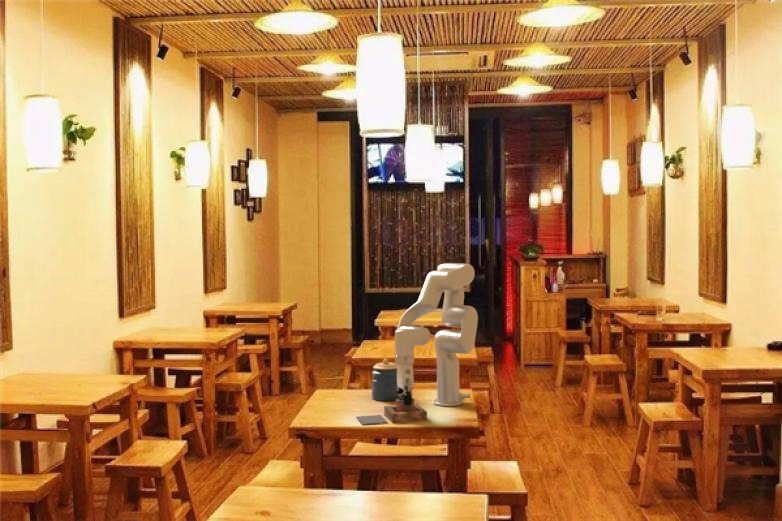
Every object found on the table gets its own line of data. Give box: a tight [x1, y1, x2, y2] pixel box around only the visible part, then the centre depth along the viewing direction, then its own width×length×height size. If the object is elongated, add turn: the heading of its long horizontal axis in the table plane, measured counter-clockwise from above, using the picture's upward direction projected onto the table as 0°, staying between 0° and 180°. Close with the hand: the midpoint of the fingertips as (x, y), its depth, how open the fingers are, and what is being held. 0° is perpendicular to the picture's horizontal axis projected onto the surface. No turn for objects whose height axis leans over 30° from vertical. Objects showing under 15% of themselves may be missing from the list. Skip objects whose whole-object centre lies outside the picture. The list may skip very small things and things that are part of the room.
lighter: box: [395, 392, 415, 412], centre depth 332 cm, size 8×3×10 cm, turn 117°
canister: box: [371, 358, 398, 402], centre depth 368 cm, size 13×13×18 cm
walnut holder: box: [383, 403, 428, 424], centre depth 332 cm, size 14×14×4 cm
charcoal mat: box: [355, 414, 388, 426], centre depth 328 cm, size 10×12×1 cm
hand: (404, 402), depth 331 cm, fingers open, 9 cm apart
